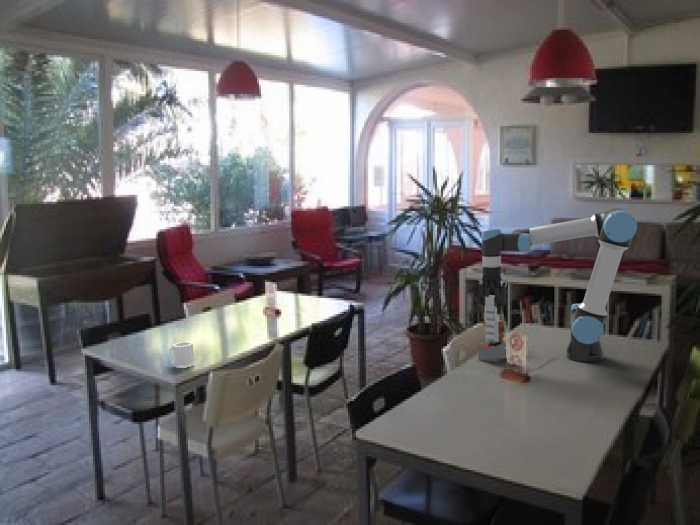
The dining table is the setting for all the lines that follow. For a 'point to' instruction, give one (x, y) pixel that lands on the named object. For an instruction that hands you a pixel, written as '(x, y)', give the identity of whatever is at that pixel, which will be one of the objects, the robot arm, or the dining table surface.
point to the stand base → (492, 351)
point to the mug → (501, 331)
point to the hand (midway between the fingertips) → (492, 320)
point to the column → (491, 320)
